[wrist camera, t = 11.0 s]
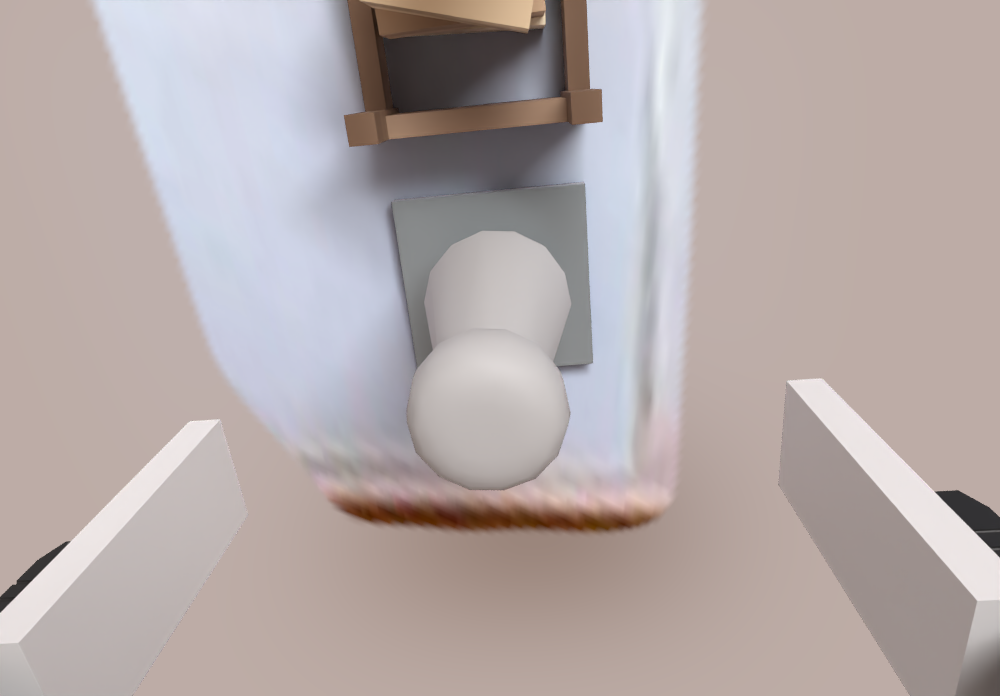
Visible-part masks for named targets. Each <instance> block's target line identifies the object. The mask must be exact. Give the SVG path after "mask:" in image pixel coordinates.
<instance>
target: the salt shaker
mask: <svg viewBox="0 0 1000 696" xmlns="http://www.w3.org/2000/svg"><path fill="white" fill-rule="evenodd" d="M424 304H425V310H426V315H427V321H428V326H429V332H430V337H431V343H432V348H433V351H432V352H431V353H430V354H429V355H428V357H427V358H426V359H425V360H424V361H423V362H422V363H421V365H420V366H419V367H418V368H417V370H416V372H415V374H414V376H413V379H412V384H411V390H410V395H409V400H408V405H407V424H408V427H409V431H410V434H411V438H412V441H413V444H414V448H415V451H416V453H417V454H418V455H419V456H420V457H421V458H422V460H423V461H424V462H425V463H426V464H427V465H428V466H429V467H430V468H431V469H432V470H433V471H434V472H435V473H436V474H437V475H438V476H439V477H442V478H444V479H446V480H448V481H451V482H453V483H455V484H458V485H460V486H462V487H464V488H467V489H469V490H506V489H509V488H511V487H514V486H517V485H519V484H522V483H525V482H527V481H530V480H533V479H535V478H537V477H538V476H539V474H540V473H541V472H542V471H543V470H544V469H545V468H546V467H547V466H548V465H549V464H550V463H551V462H552V461H553V460H554V459H555V458H556V457H557V456H558V454H559V451H560V448H561V445H562V442H563V439H564V436H565V433H566V430H567V427H568V423H569V418H570V409H569V404H568V399H567V395H566V390H565V385H564V381H563V378H562V375H561V372H560V370H559V369H558V368H557V366H556V365H555V364H554V362H553V361H554V358H555V355H556V352H557V348H558V345H559V342H560V339H561V336H562V333H563V329H564V326H565V323H566V320H567V317H568V314H569V311H570V307H571V300H570V295H569V290H568V286H567V281H566V276H565V273H564V271H563V270H562V269H561V267H560V266H559V265H558V263H557V262H556V260H555V259H554V258H553V256H552V255H551V254H550V252H549V251H548V250H547V248H546V247H545V246H543V245H541V244H539V243H537V242H535V241H533V240H531V239H529V238H527V237H525V236H523V235H521V234H519V233H517V232H514V231H480V232H478V233H476V234H474V235H472V236H470V237H467V238H465V239H463V240H461V241H459V242H457V243H455V244H453V245H451V246H450V247H449V249H448V250H447V251H446V252H445V254H444V255H443V256H442V257H441V259H440V260H439V261H438V262H437V264H436V265H435V266H434V267H433V269H432V270H431V271H430V275H429V280H428V285H427V290H426V295H425V300H424Z"/></svg>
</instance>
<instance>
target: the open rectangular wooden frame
mask: <svg viewBox="0 0 1000 696" xmlns="http://www.w3.org/2000/svg"><path fill="white" fill-rule="evenodd" d="M347 1H348V7H349V13H350V19H351V26H352V32H353V38H354V44H355V50H356V56H357V63H358V69H359V75H360V81H361V87H362V93H363V100H364V106H365V112H361V113H355V114H350V115H344V119H345V125H346V130H347V136H348V142H349V147H353V146H363V145H374V144H380V143H382V142H384V141H387V140H389V139H398V138H408V137H419V136H429V135H439V134H449V133H459V132H469V131H479V130H489V129H499V128H509V127H519V126H530V125H540V124H550V123H560V122H569V123H570V124H572V125H576V124H586V123H596V122H603V117H602V89H590V78H589V53H588V29H587V4H586V0H560V3H561V21H562V40H563V59H564V77H565V91H560V97H552V98H542V99H532V100H522V101H513V102H503V103H493V104H483V105H473V106H463V107H453V108H443V109H434V110H424V111H414V112H404V113H399V109H398V108H393V102H392V95H391V88H390V81H389V75H388V68H387V61H386V54H385V47H384V41H383V37H382V36H380V35H379V30H378V25H377V19H376V14H375V8H372V7H370V6H368V5H366V4H365V3H363V2H361V1H359V0H347Z"/></svg>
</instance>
